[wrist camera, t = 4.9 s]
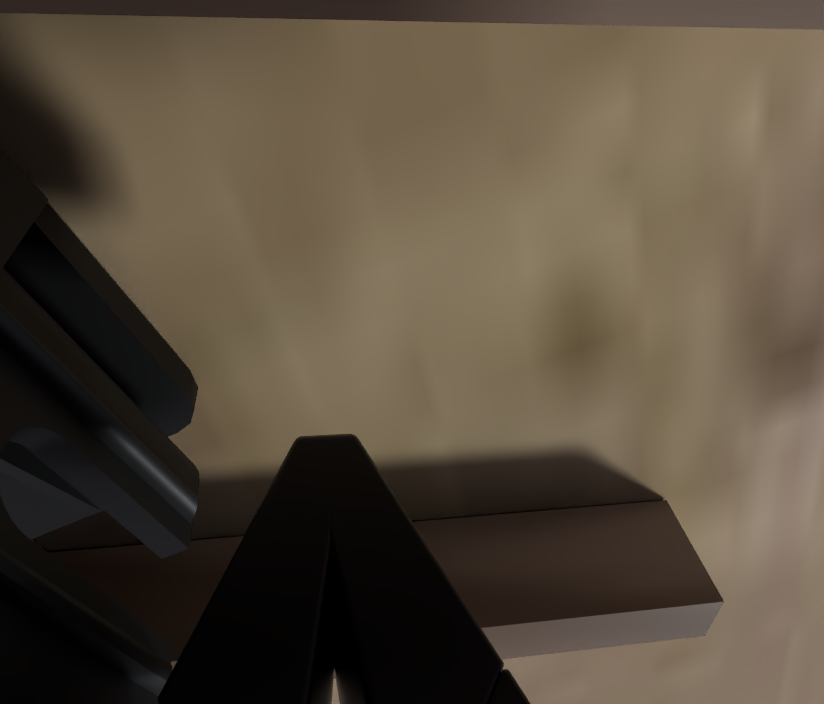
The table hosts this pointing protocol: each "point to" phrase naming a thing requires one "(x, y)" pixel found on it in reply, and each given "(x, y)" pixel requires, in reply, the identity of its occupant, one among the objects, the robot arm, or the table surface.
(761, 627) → the table surface
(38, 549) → the end cap
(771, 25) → the rail
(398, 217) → the table surface
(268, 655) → the robot arm
